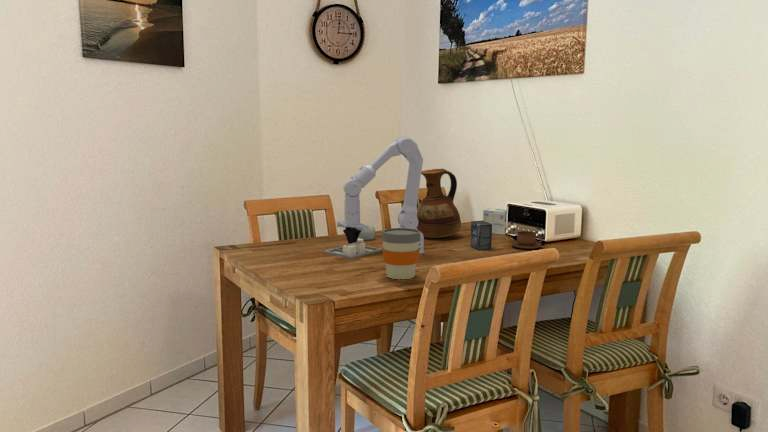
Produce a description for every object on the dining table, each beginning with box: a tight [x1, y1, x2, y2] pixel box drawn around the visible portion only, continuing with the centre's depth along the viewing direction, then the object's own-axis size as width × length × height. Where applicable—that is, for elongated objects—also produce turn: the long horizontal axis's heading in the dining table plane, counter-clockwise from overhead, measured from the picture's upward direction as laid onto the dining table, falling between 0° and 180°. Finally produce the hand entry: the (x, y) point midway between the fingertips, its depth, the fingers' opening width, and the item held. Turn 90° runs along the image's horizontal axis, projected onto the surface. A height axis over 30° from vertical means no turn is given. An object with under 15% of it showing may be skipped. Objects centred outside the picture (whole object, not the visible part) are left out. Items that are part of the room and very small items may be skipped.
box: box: [470, 220, 493, 251], centre depth 238 cm, size 8×6×11 cm
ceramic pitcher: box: [416, 168, 462, 239], centre depth 261 cm, size 20×20×30 cm
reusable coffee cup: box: [381, 227, 420, 280], centre depth 193 cm, size 12×13×15 cm
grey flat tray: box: [323, 245, 383, 260], centre depth 226 cm, size 14×18×2 cm
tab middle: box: [352, 241, 366, 253], centre depth 224 cm, size 4×3×4 cm
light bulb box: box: [482, 207, 508, 236], centre depth 272 cm, size 11×7×11 cm, turn 58°
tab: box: [342, 243, 356, 256], centre depth 220 cm, size 4×3×4 cm
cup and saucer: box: [510, 230, 543, 250], centre depth 241 cm, size 12×12×6 cm
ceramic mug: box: [358, 224, 376, 241], centre depth 252 cm, size 10×8×7 cm
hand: (352, 247), depth 226 cm, fingers closed
